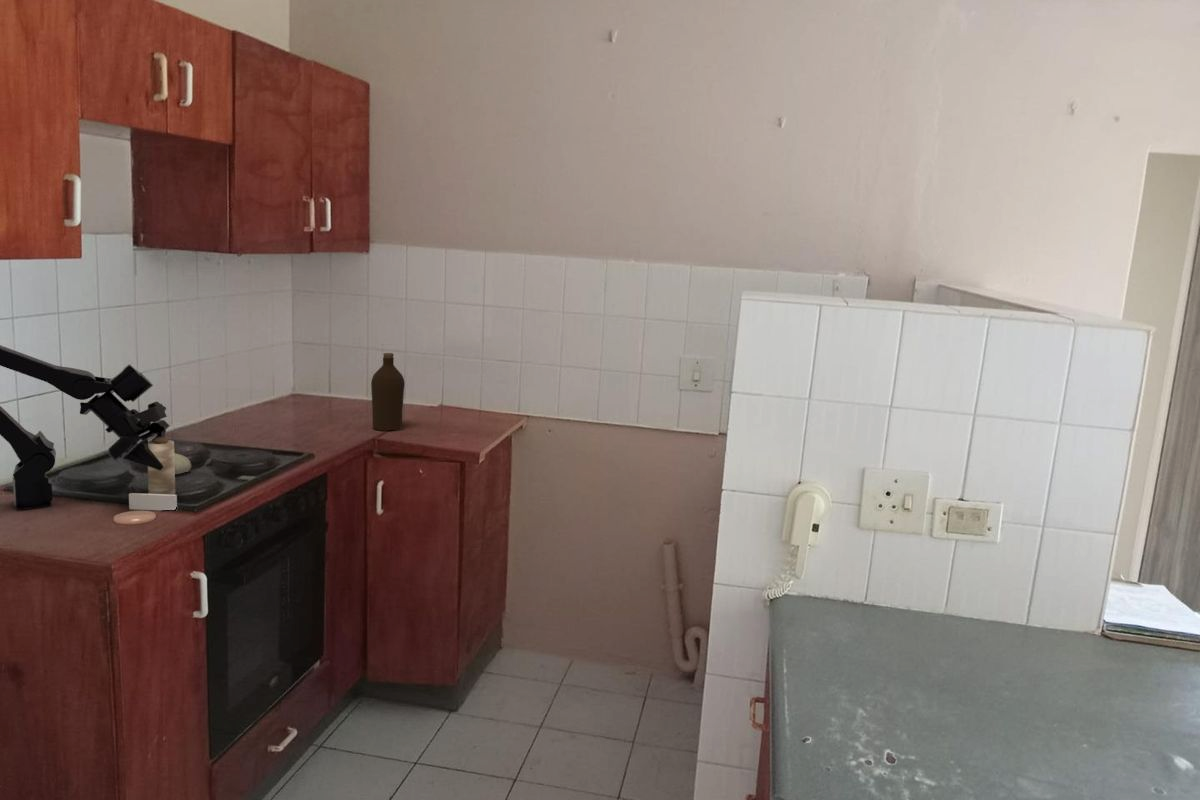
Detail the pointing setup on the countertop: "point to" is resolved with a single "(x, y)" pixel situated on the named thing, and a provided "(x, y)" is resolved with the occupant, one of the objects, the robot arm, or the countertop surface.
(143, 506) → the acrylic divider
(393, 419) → the olive oil
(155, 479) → the thread spool
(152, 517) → the coaster
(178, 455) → the sea urchin shell
